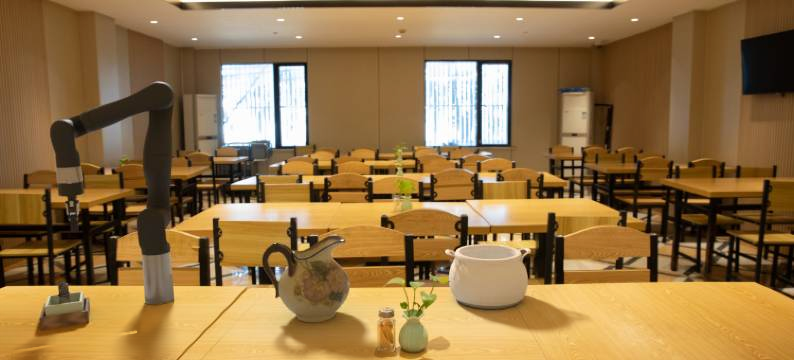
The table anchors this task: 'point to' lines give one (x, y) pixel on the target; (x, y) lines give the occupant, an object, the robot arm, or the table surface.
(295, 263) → the pitcher
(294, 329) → the table surface
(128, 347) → the table surface
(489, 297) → the pot
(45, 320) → the box
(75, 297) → the green crate
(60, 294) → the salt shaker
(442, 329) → the table surface
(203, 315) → the table surface
